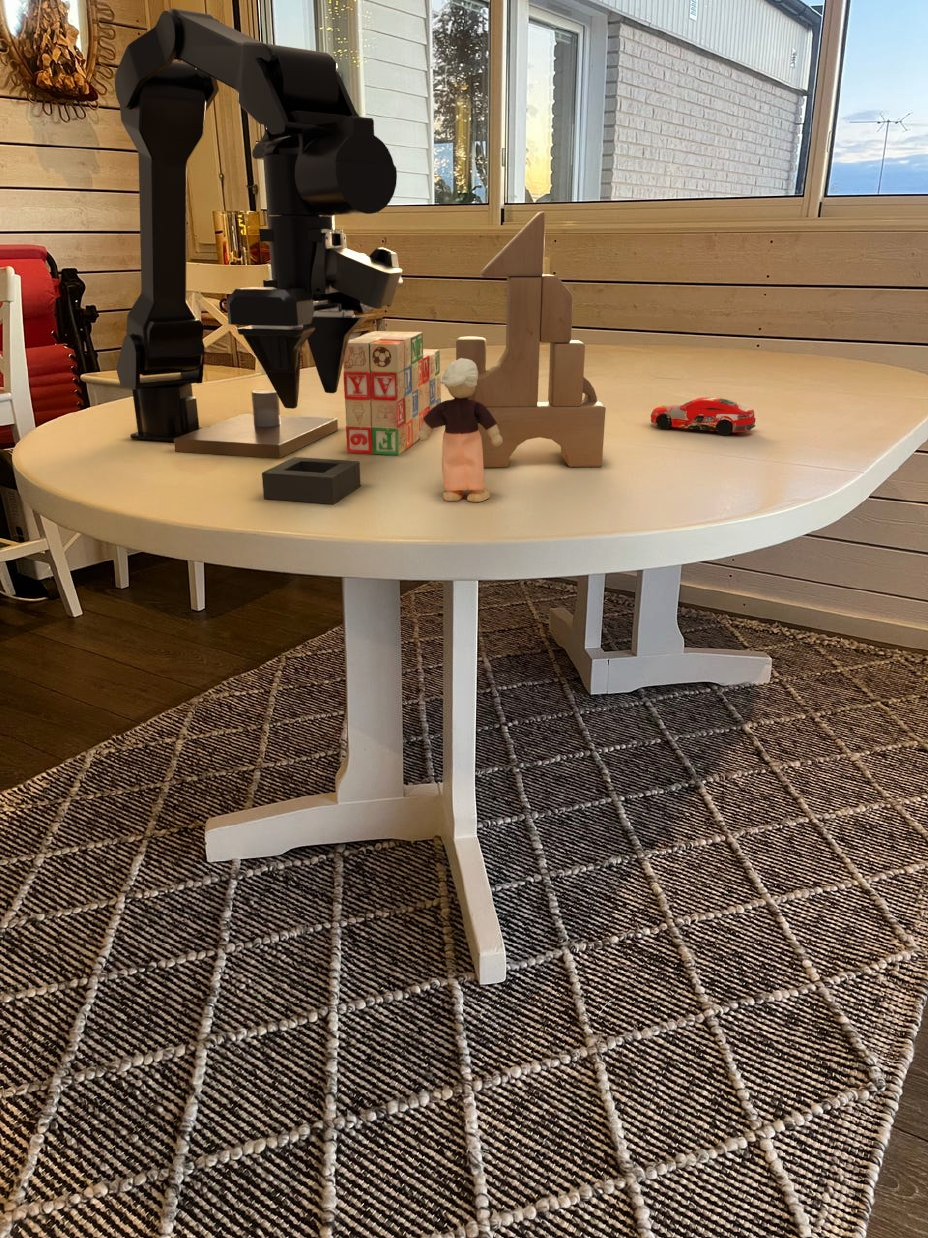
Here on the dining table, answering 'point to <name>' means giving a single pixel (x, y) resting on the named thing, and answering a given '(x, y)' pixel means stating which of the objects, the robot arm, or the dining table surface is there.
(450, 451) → the grandmother figurine
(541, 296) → the wooden toy
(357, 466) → the rubber pad
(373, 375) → the stack of blocks
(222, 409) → the dining table surface
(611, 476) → the dining table surface
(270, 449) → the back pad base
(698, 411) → the race car
